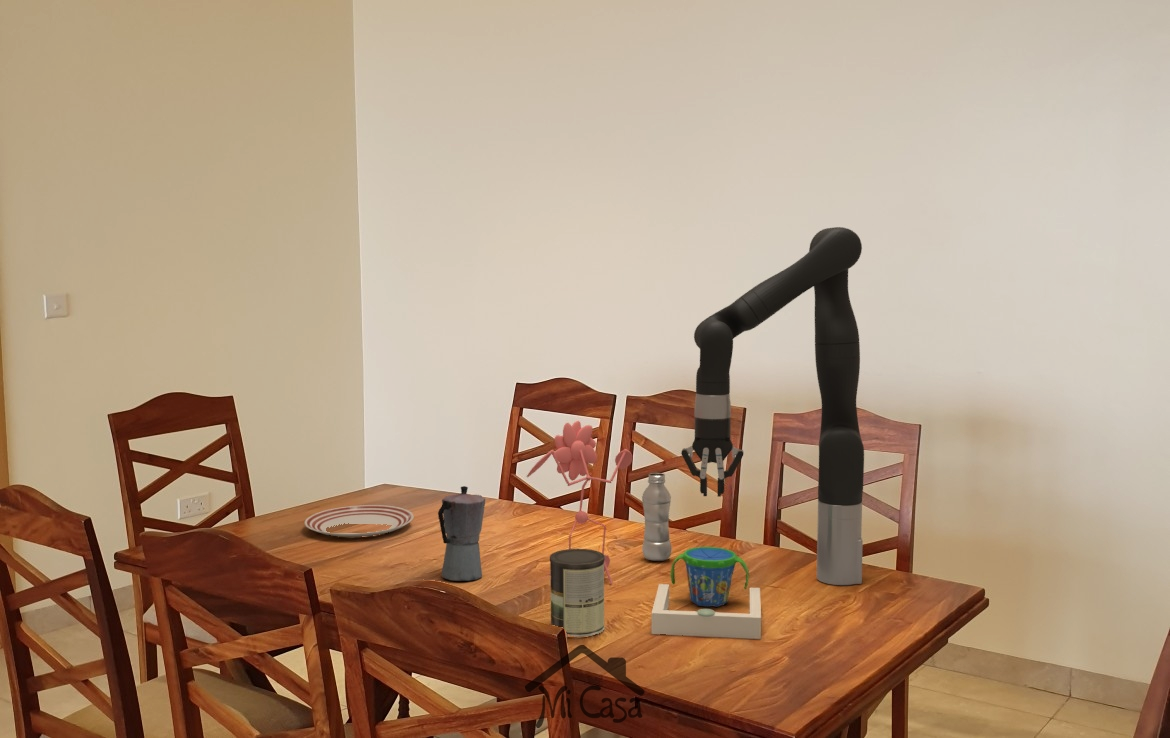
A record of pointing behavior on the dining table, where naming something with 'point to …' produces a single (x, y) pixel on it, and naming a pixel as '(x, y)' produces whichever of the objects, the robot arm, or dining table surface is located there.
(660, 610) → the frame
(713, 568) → the snack cup
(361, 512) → the dinner plate
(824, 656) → the dining table surface
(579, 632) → the coffee can
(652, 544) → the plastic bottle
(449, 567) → the moka pot
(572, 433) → the figurine
